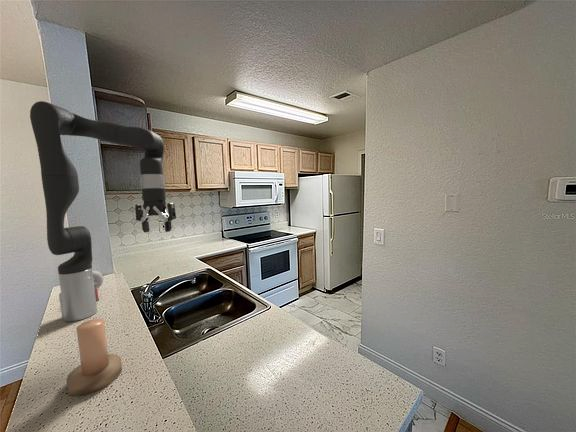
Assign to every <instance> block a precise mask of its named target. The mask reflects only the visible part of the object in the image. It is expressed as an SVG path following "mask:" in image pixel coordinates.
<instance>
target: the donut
mask: <svg viewBox="0 0 576 432" xmlns="http://www.w3.org/2000/svg"><path fill="white" fill-rule="evenodd" d="M92 272H93V278H94V279H95V281H94V282H96V283H97V290H98V289H99V288H100V287H102V285H103V283H104V277H103V274H102V273H101V272H99V271H98V270H92Z"/></svg>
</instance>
